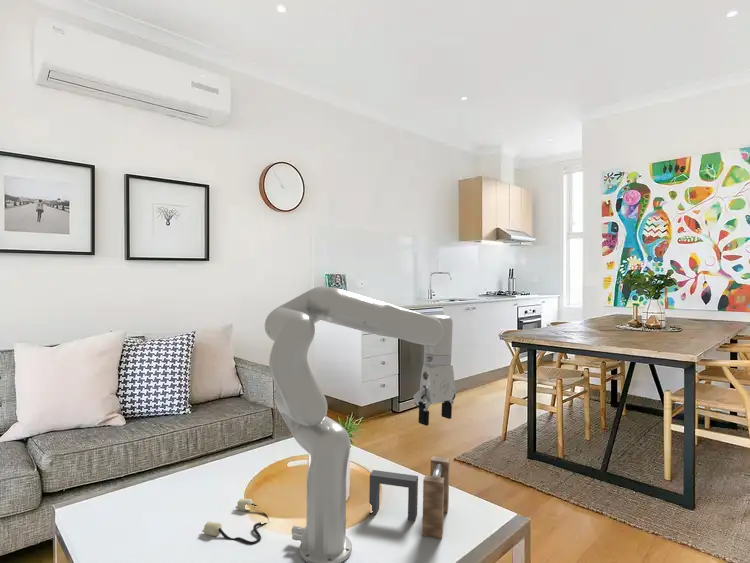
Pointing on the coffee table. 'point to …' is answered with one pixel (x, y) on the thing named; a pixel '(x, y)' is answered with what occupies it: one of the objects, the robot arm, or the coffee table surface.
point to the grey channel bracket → (394, 480)
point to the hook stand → (435, 497)
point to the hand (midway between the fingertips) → (435, 420)
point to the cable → (216, 527)
